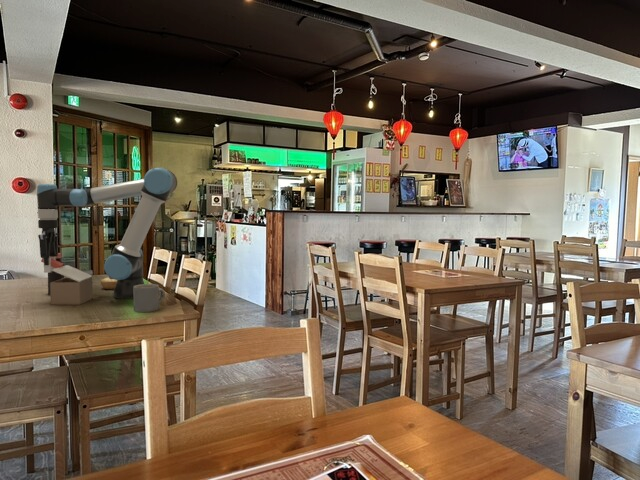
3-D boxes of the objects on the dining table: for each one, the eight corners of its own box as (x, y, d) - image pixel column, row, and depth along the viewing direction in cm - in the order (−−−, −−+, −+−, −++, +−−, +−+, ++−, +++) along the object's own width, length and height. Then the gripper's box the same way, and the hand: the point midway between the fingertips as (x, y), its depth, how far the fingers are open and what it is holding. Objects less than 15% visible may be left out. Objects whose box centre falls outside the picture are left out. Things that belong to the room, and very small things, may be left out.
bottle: (64, 292, 224) (63, 252, 223) (64, 295, 218) (63, 253, 217) (48, 293, 220) (47, 253, 219) (48, 296, 215) (47, 254, 213)
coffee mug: (138, 313, 184) (138, 289, 183) (130, 308, 191) (130, 285, 191) (170, 308, 192) (170, 285, 192) (161, 304, 200) (161, 282, 199)
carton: (92, 298, 211) (92, 277, 210) (79, 305, 197) (79, 282, 196) (65, 298, 209) (64, 277, 209) (50, 305, 195) (50, 282, 195)
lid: (92, 277, 210) (94, 273, 210) (79, 282, 196) (81, 278, 196) (50, 259, 207) (52, 255, 207) (34, 263, 193) (36, 258, 193)
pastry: (99, 291, 231) (98, 274, 230) (103, 287, 242) (102, 270, 241) (124, 290, 234) (123, 273, 233) (127, 285, 246) (126, 269, 245)
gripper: (48, 218, 207) (50, 269, 209) (29, 219, 191) (31, 274, 192) (65, 218, 208) (67, 269, 210) (47, 219, 191) (49, 274, 193)
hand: (50, 271), depth 201 cm, fingers closed on lid, 3 cm apart
